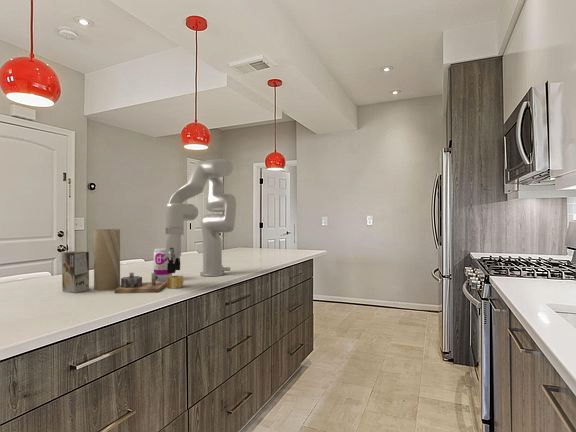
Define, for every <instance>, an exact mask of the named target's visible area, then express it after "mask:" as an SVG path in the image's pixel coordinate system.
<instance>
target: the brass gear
mask: <svg viewBox="0 0 576 432" xmlns="http://www.w3.org/2000/svg"><path fill="white" fill-rule="evenodd" d="M166 282H167V286H166V288H167V289H172V290H174V289H181V288H184V276H183V275H172V276H169V277H167V281H166Z"/></svg>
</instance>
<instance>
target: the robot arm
mask: <svg viewBox="0 0 576 432" xmlns="http://www.w3.org/2000/svg"><path fill="white" fill-rule="evenodd" d="M233 167H234V166H233V163H232V161H231V159H230V160H229V159H228V158H222V159H219V158H218V159H207V160H206V159H205V160H199V161H196V162H195V163H194V164H193V167H192V169H191V172H190V173H189V176H188V178H187V180H186V183H185V184H183V186H181V187H180V188H179V189H177V190H176V191H175V192H174V193H173V194H172V195H171V197H170V198H169V201H168V203H167V204H166V205H165V233H164V235H165V236H166V241H165V248H166V252H165V257H166V258H168V264H167V273H172V274H175V273H176V271H180V270H181V256H182V236H184V233H185V231H184V230H185V229H184V228H185V227H184V225H185V224H184V223H185V221H194V220H195V219H196V218H198V215H199V209H198V207H197V206H196V205H195V204H192V203H185V201H187V200H189V199H191V198H194V197H196V196H198V195H200V194H202V193H203V192H204V189H205V187H207V189H206V190H207V191H206V199H205V200H206V201H205V206H206V210H207V211H208V212H212V213H209V214H205V215H203V217H202V218H201V220H200V226H201V232H202V264H203V265H202V270H203V271H201V272H199V275H200V276H201V277H219V276H223V275H225V274H226V272H231V267H229V266H228V267H227V266H226V267H225V266H223V265H224V264H223V263H222V262H223V261H222V256H223V255H222V254H223V253H222V247H223V246H222V244H223V242H222V238H221V235H220V234H219V233H231V232H233V231H234V228H235V224H236V213H237V201H236V197H235V195H233V194H232V193H224V190H225V189H224V188H225V187H224V183H223V181H222V180H221V178H224V177H228V176H230V175H231V174H232V173H233V169H234V168H233ZM206 184H207V186H206Z"/></svg>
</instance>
